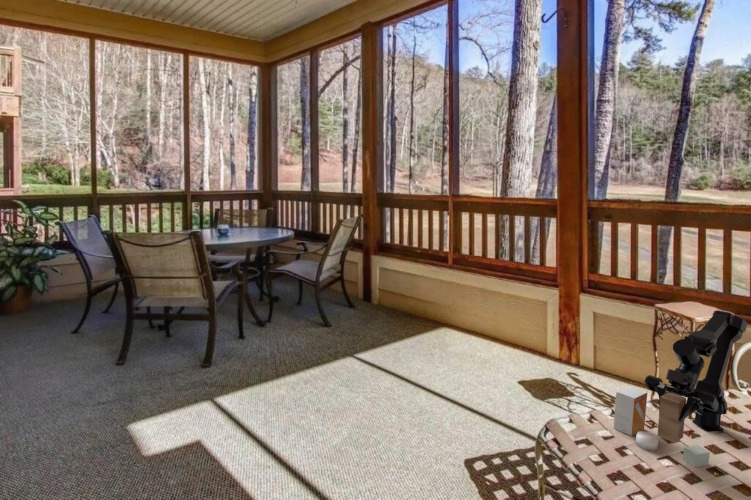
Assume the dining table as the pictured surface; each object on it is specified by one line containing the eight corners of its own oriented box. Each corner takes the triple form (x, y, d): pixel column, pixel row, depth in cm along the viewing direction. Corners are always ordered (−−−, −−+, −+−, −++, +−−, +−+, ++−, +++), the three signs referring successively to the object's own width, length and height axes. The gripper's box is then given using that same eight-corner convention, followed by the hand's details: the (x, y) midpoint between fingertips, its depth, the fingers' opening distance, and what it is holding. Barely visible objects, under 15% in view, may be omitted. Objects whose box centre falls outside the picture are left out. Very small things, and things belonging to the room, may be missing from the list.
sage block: (696, 457, 146) (697, 444, 145) (708, 464, 142) (709, 452, 141) (682, 459, 145) (683, 447, 144) (694, 467, 141) (695, 454, 140)
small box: (631, 436, 158) (634, 398, 156) (612, 428, 163) (615, 391, 161) (645, 429, 162) (647, 392, 160) (626, 421, 167) (628, 385, 165)
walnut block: (665, 430, 149) (667, 391, 147) (683, 437, 145) (686, 397, 143) (657, 435, 146) (660, 396, 144) (675, 443, 142) (678, 403, 140)
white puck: (653, 441, 155) (654, 432, 154) (660, 451, 149) (661, 442, 149) (633, 438, 156) (634, 429, 156) (638, 448, 150) (640, 440, 150)
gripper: (648, 350, 151) (629, 393, 146) (718, 368, 136) (699, 418, 132) (658, 367, 157) (640, 410, 152) (726, 387, 142) (708, 435, 138)
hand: (669, 417), depth 143 cm, fingers closed on walnut block, 5 cm apart
